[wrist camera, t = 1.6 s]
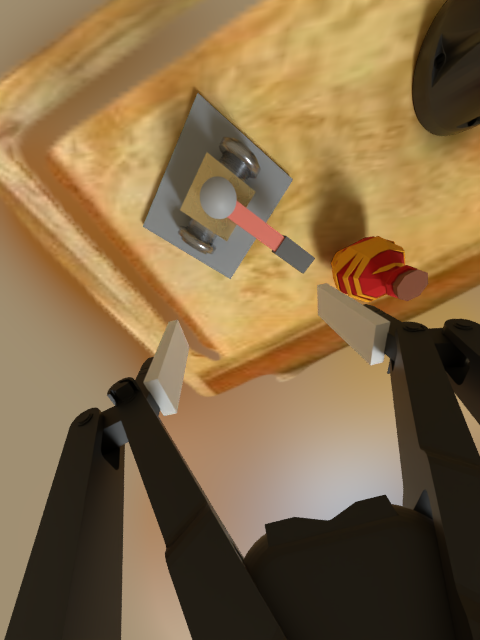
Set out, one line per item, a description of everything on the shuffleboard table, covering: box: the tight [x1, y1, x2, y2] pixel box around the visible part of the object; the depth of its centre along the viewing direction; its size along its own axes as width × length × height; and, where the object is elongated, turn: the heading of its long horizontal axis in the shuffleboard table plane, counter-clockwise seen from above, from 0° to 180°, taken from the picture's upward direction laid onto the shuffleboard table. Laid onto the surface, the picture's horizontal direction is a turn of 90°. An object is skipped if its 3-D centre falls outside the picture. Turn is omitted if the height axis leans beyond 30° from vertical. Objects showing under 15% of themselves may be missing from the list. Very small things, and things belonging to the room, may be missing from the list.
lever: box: [200, 176, 315, 273], centre depth 25 cm, size 16×4×2 cm, turn 57°
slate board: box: [143, 93, 293, 279], centre depth 31 cm, size 18×16×1 cm
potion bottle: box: [331, 236, 428, 302], centre depth 32 cm, size 10×10×15 cm
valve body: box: [178, 137, 261, 254], centre depth 28 cm, size 14×7×8 cm, turn 147°
